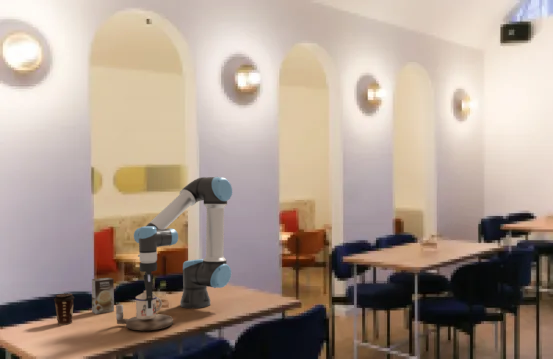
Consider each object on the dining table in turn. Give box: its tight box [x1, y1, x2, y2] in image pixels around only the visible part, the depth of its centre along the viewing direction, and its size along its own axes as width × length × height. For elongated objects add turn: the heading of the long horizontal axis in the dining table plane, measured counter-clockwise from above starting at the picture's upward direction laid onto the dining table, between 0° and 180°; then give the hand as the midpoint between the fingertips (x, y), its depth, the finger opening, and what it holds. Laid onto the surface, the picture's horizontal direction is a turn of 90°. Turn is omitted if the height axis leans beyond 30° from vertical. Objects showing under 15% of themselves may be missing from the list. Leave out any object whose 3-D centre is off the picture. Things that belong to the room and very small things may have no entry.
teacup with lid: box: [135, 290, 163, 319], centre depth 265 cm, size 12×9×12 cm
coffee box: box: [91, 277, 115, 315], centre depth 295 cm, size 9×6×16 cm
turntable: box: [115, 304, 174, 331], centre depth 264 cm, size 24×20×8 cm
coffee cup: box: [53, 292, 75, 326], centre depth 274 cm, size 9×8×13 cm
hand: (149, 313), depth 264 cm, fingers closed on teacup with lid, 9 cm apart
